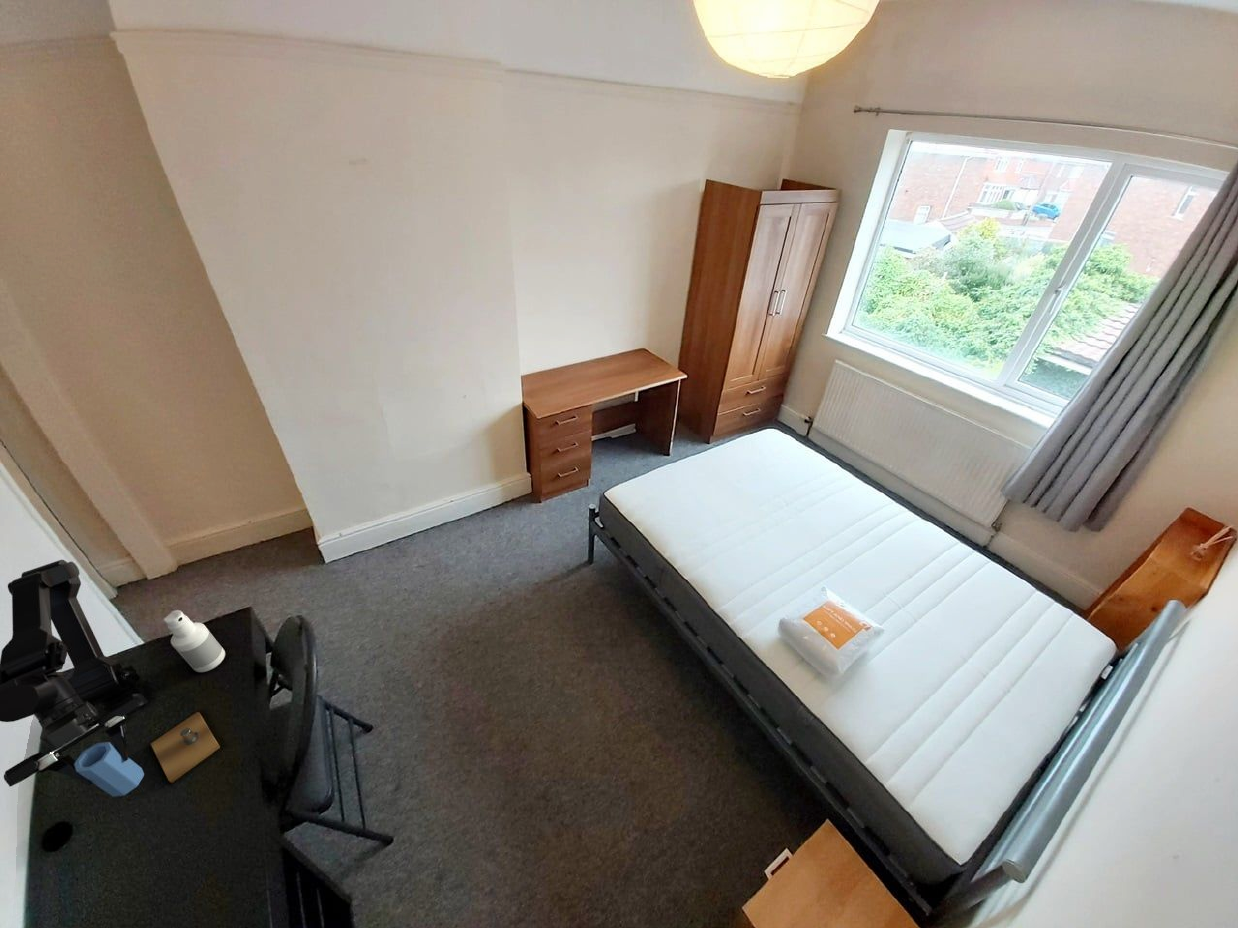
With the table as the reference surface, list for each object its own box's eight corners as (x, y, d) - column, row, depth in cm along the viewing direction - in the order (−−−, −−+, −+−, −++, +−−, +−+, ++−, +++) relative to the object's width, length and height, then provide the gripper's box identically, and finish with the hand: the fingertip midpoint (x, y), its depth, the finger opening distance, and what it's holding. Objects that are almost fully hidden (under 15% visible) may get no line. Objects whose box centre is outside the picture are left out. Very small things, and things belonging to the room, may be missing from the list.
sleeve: (108, 784, 97) (72, 758, 91) (139, 762, 101) (106, 736, 94) (114, 802, 95) (78, 777, 88) (146, 779, 98) (113, 753, 92)
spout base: (153, 746, 109) (142, 736, 106) (200, 714, 115) (191, 704, 112) (171, 783, 103) (160, 774, 100) (220, 747, 109) (211, 737, 106)
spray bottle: (209, 675, 122) (171, 630, 112) (186, 670, 124) (146, 625, 113) (232, 651, 128) (197, 606, 117) (210, 646, 129) (173, 601, 119)
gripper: (-36, 752, 80) (24, 828, 81) (111, 669, 92) (162, 736, 93) (-7, 744, 89) (47, 813, 90) (124, 669, 101) (170, 730, 102)
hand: (109, 771), depth 93 cm, fingers closed on sleeve, 5 cm apart
